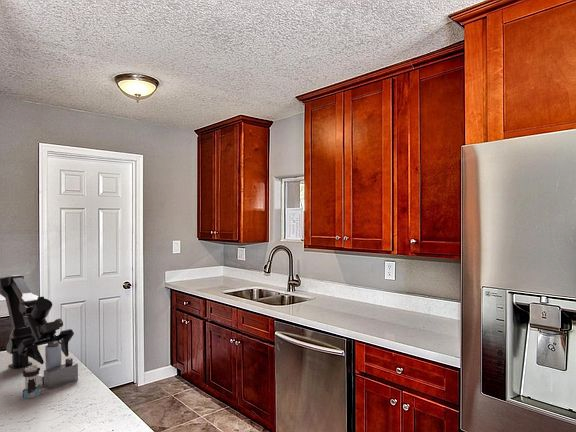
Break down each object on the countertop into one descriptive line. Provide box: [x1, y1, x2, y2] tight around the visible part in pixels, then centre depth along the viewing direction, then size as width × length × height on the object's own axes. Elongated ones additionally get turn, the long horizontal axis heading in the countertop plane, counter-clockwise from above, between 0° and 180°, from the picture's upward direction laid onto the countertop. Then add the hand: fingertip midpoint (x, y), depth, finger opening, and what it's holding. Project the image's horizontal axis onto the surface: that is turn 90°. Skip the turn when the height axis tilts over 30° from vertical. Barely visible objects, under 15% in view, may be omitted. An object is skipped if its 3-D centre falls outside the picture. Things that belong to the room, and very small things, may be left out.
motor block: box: [37, 357, 79, 390], centre depth 156 cm, size 9×10×8 cm
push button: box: [21, 364, 45, 400], centre depth 144 cm, size 7×5×10 cm
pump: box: [44, 341, 62, 370], centre depth 158 cm, size 5×5×14 cm
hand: (55, 359), depth 157 cm, fingers open, 9 cm apart
